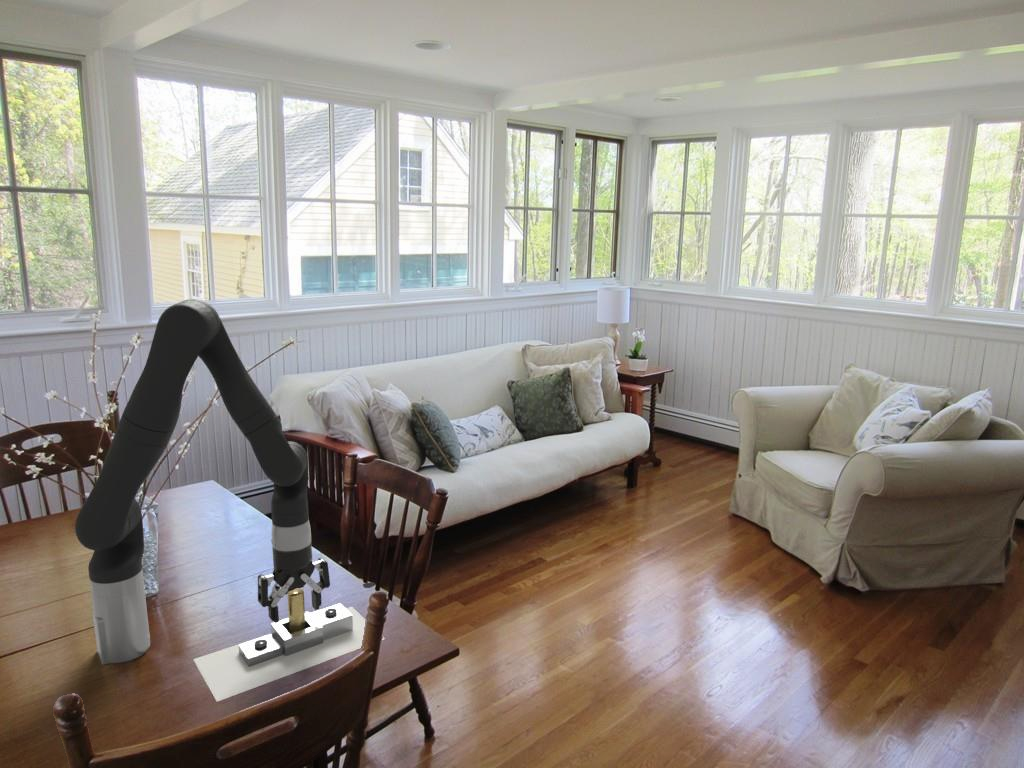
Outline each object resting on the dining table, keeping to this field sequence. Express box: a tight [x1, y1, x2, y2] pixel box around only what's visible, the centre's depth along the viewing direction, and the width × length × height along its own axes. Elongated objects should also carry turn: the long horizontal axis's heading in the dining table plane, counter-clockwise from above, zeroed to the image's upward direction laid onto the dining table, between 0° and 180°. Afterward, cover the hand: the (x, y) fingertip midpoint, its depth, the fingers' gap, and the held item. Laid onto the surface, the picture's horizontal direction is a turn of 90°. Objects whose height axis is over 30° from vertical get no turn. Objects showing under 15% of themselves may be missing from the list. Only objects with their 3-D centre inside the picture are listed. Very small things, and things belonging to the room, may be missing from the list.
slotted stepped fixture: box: [237, 602, 353, 667], centre depth 150 cm, size 22×8×4 cm, turn 127°
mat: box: [192, 606, 386, 703], centre depth 148 cm, size 34×16×1 cm, turn 127°
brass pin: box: [286, 588, 306, 634], centre depth 149 cm, size 3×3×11 cm
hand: (296, 614), depth 149 cm, fingers open, 8 cm apart
